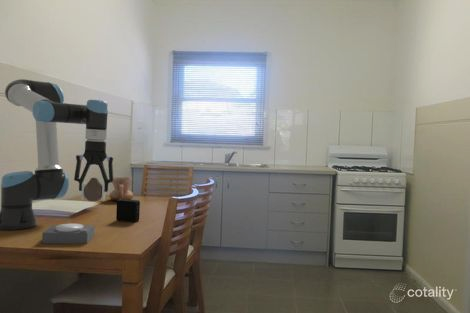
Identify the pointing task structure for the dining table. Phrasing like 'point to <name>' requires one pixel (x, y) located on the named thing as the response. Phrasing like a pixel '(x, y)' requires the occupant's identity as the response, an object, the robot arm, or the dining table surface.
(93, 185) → the vase
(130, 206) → the electronic device
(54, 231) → the grey dome button box
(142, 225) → the dining table surface
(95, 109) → the robot arm
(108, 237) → the dining table surface
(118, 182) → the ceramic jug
